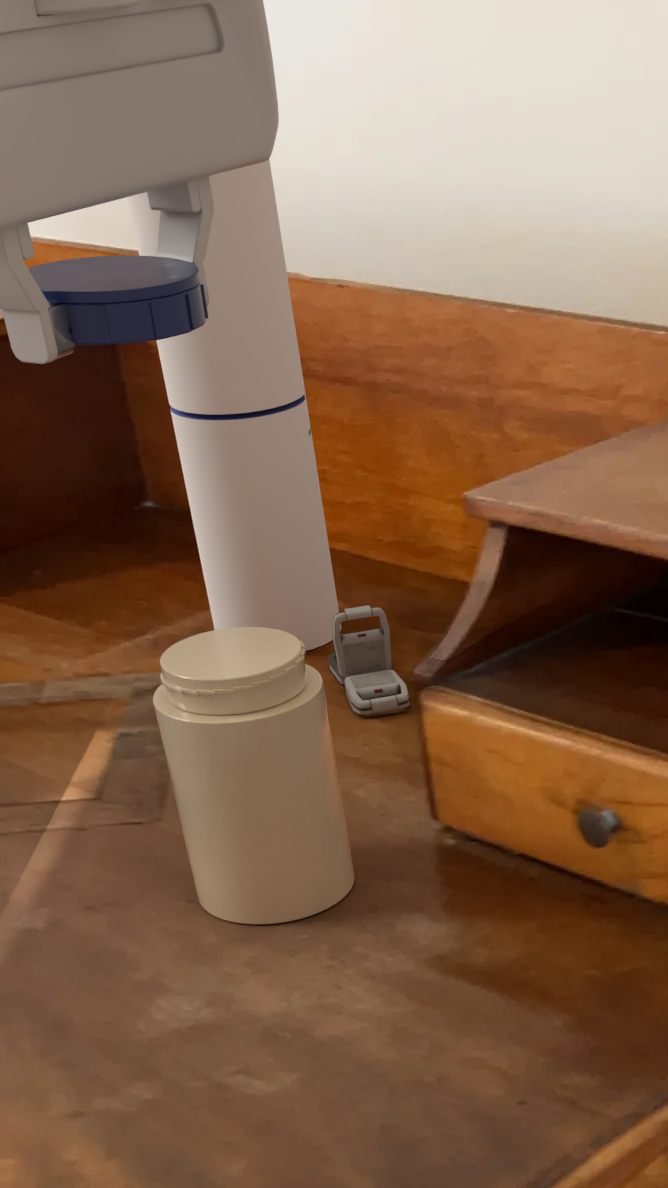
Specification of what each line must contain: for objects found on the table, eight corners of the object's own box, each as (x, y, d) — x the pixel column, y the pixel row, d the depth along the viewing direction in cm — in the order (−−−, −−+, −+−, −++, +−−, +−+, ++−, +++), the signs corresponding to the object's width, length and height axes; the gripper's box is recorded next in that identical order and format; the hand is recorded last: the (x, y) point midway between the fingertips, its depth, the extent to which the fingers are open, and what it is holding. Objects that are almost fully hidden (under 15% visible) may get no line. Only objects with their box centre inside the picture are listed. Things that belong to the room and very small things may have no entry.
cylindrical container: (195, 652, 97) (87, 138, 81) (248, 607, 102) (156, 118, 87) (312, 660, 95) (225, 138, 80) (359, 614, 101) (287, 117, 85)
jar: (209, 938, 71) (154, 696, 65) (188, 867, 76) (134, 636, 70) (369, 906, 73) (331, 667, 66) (338, 838, 78) (299, 611, 72)
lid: (243, 319, 67) (236, 268, 66) (106, 354, 62) (96, 299, 61) (125, 297, 70) (116, 248, 69) (-14, 329, 66) (-26, 277, 64)
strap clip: (414, 711, 89) (404, 631, 87) (357, 720, 89) (345, 640, 86) (379, 655, 96) (368, 578, 93) (325, 663, 95) (313, 586, 92)
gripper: (-140, -99, 50) (-9, 409, 58) (275, -125, 64) (331, 286, 72) (-293, -96, 52) (-145, 393, 60) (141, -121, 66) (211, 277, 75)
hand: (118, 334), depth 67 cm, fingers closed on lid, 7 cm apart
